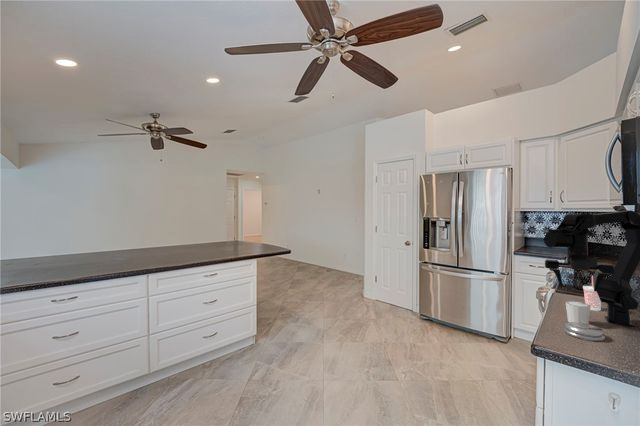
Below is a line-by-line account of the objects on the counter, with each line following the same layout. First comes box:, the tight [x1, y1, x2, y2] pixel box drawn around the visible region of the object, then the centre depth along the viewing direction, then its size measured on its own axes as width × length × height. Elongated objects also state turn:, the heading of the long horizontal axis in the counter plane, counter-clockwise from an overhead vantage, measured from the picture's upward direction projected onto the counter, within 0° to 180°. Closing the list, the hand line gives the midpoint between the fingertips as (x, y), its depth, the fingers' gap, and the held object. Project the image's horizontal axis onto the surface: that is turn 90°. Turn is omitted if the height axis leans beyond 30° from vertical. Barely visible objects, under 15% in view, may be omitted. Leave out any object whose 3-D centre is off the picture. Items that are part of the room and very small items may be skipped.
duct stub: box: [563, 321, 606, 343], centre depth 93 cm, size 10×10×3 cm
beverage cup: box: [582, 275, 602, 312], centre depth 118 cm, size 6×6×14 cm
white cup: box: [565, 300, 591, 324], centre depth 104 cm, size 7×7×7 cm
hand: (577, 289), depth 103 cm, fingers open, 9 cm apart
